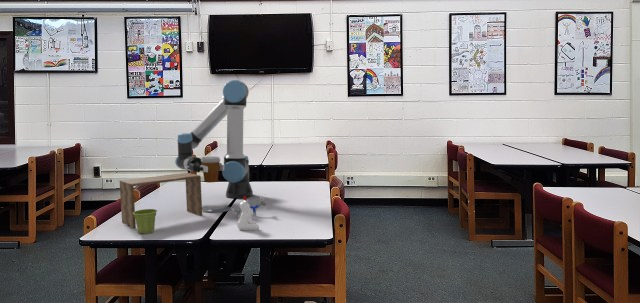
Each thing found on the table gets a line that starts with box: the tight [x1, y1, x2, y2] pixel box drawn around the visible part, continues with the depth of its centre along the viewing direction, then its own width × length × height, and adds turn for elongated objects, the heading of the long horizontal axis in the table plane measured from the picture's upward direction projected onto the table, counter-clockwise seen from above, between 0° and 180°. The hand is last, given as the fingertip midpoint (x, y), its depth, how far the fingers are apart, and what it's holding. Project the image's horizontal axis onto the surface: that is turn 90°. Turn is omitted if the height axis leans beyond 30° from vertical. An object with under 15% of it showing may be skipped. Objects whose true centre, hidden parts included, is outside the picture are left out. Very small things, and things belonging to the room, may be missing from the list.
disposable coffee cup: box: [200, 156, 221, 184], centre depth 227 cm, size 10×10×12 cm
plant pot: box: [133, 208, 158, 235], centre depth 189 cm, size 9×9×9 cm
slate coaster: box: [202, 205, 232, 214], centre depth 229 cm, size 14×14×1 cm
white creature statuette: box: [236, 199, 260, 231], centre depth 191 cm, size 10×9×12 cm
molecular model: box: [230, 195, 270, 220], centre depth 213 cm, size 18×8×10 cm, turn 110°
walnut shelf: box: [119, 172, 203, 229], centre depth 211 cm, size 14×32×19 cm, turn 132°
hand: (215, 168), depth 224 cm, fingers closed on disposable coffee cup, 8 cm apart
